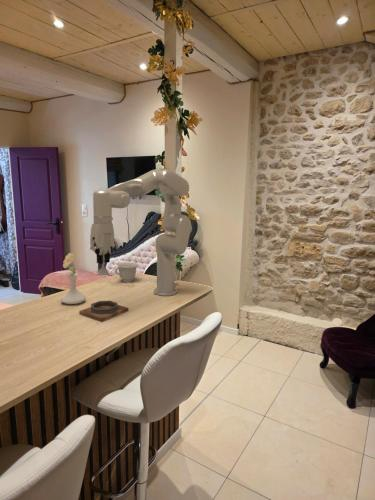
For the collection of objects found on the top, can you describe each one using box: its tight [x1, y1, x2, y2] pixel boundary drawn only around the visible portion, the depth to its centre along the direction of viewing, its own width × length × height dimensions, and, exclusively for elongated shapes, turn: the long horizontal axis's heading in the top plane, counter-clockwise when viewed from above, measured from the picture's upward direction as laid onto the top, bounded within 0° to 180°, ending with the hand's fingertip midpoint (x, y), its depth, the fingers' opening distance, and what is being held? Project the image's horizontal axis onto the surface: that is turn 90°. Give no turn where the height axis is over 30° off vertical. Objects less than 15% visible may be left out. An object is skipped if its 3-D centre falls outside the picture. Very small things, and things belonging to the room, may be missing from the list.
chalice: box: [97, 233, 112, 277], centre depth 144 cm, size 7×7×18 cm
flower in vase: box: [60, 252, 87, 305], centre depth 158 cm, size 13×11×25 cm
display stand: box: [78, 300, 129, 323], centre depth 148 cm, size 16×14×4 cm
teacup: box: [114, 262, 139, 283], centre depth 197 cm, size 12×15×10 cm
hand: (103, 262), depth 144 cm, fingers closed on chalice, 3 cm apart
